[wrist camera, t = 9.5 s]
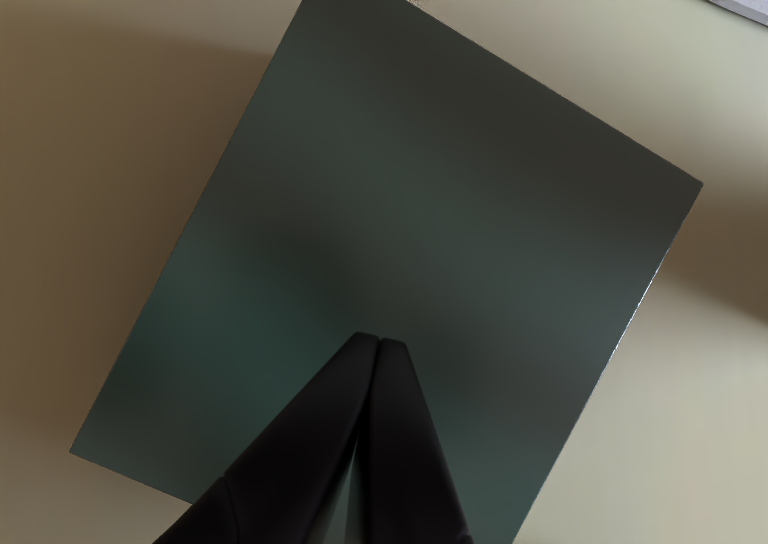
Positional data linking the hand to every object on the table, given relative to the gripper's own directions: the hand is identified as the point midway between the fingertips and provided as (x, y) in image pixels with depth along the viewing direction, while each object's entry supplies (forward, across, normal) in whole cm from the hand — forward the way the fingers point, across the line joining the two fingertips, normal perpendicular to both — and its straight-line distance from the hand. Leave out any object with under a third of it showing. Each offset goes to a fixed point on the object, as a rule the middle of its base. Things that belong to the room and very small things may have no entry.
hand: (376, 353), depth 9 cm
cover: (+5, 0, +3) cm, 5 cm away
